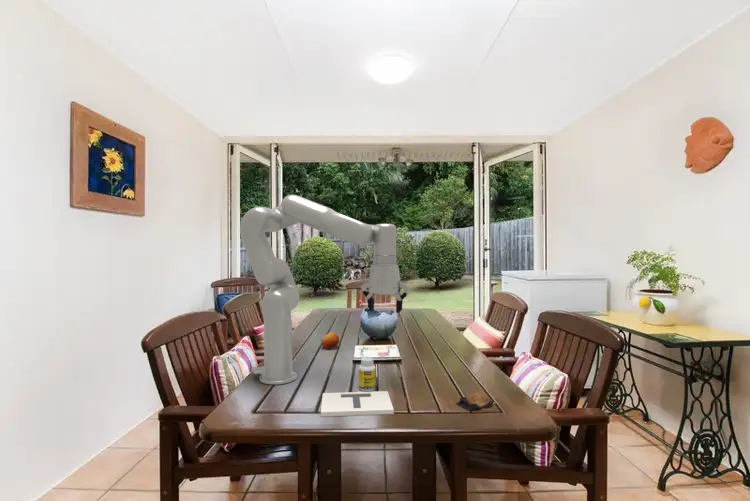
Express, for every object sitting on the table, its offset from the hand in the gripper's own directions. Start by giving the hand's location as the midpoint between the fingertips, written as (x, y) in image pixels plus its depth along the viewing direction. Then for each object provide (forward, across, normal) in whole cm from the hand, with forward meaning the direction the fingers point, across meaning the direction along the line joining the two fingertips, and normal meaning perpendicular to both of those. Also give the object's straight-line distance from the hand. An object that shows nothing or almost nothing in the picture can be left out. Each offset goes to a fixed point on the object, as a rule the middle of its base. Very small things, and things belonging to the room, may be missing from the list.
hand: (384, 311), depth 135 cm
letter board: (+24, -2, -21) cm, 32 cm away
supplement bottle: (+24, -4, -7) cm, 26 cm away
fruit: (+24, -38, +34) cm, 57 cm away
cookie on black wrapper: (+25, +31, -7) cm, 40 cm away
